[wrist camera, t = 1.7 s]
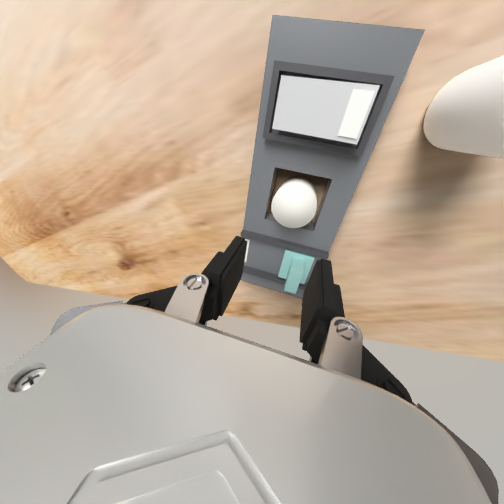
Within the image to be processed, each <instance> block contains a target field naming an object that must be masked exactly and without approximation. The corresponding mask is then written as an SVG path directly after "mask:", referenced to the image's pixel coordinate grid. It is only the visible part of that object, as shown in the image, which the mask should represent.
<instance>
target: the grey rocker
mask: <svg viewBox="0 0 504 504" xmlns="http://www.w3.org/2000/svg"><path fill="white" fill-rule="evenodd" d="M379 87H380V85H372V84H362V83H352V82H342V81H333V80H323V79H313V78H304V77H294V76H284V75H281V80H280V86H279V92H278V98H277V103H276V109H275V115H274V121H273V127H272V129H277V130H282V131H288V132H293V133H298V134H304V135H309V136H314V137H320V138H325V139H330V140H336V141H341V142H346V143H352V144H357V143H358V141H359V138H360V136H361V133H362V130H363V128H364V125H365V123H366V120H367V118H368V115H369V113H370V110H371V107H372V105H373V102H374V100H375V97H376V95H377V92H378V90H379Z"/></svg>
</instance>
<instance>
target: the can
mask: <svg viewBox="0 0 504 504" xmlns="http://www.w3.org/2000/svg"><path fill="white" fill-rule="evenodd" d="M424 133H425V136H426V138H427V140H428V141H429V142H430V143H431V144H432V145H433V146H435V147H437V148H440V149H444V150H450V151H456V152H462V153H469V154H475V155H482V156H489V157H495V158H502V159H504V55H503V56H500V57H498V58H495V59H493V60H491V61H488V62H486V63H483V64H481V65H478V66H476V67H473V68H471V69H469V70H467V71H465V72H463V73H461V74H459V75H458V76H456V77H455V78H453V79H452V80H451V81H449V82H448V83H447V84H446V85H445V86H444V87H443V88H442V89H441V90H440V91H439V92H438V93H437V94H436V96H435V97H434V98H433V100H432V101H431V103H430V105H429V107H428V109H427V111H426V114H425V118H424Z"/></svg>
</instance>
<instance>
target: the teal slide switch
mask: <svg viewBox="0 0 504 504" xmlns="http://www.w3.org/2000/svg"><path fill="white" fill-rule="evenodd" d="M314 259H315V256H313V255H309V254H306V253H302V252H298V251H294V250H291V249H287V248H286V250H285V253H284V257H283V260H282V264H281V267H280V270H279V274H278V277H280V278H284V279H286V282H285V287H284V291H287V292H291V293H294V294H296V291H297V289H298V286H299V283H301V284H305V281H306V279H307V276H308V274H309V271H310V269H311V266H312V264H313V261H314Z"/></svg>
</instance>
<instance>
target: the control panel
mask: <svg viewBox="0 0 504 504" xmlns="http://www.w3.org/2000/svg"><path fill="white" fill-rule="evenodd" d="M424 31H425V30H421V29H411V28H401V27H391V26H381V25H371V24H360V23H350V22H340V21H330V20H320V19H309V18H299V17H289V16H279V15H273V16H272V23H271V30H270V37H269V45H268V52H267V59H266V67H265V74H264V81H263V89H262V96H261V103H260V111H259V118H258V125H257V132H256V140H255V147H254V154H253V162H252V169H251V176H250V184H249V191H248V198H247V205H246V213H245V220H244V227H243V230H242V232H241V236H242V237H243V238H245V240H246V241H247V248H246V255H245V261H244V268H243V274H242V277H241V279H240V280H243V281H246V282H249V283H253V284H256V285H259V286H263V287H266V288H269V289H273V290H276V291H279V292H283V293H286V294H289V295H293V296H296V297H299V298H303V293H304V290H305V288H306V285H307V283H308V281H309V278H310V276H311V273H312V271H313V268H314V266H315V263H316V261H317V260H321V259H327V258H328V256H329V254H328V251H329V249H330V246H331V244H332V242H333V240H334V237H335V235H336V233H337V230H338V228H339V226H340V224H341V221H342V219H343V217H344V214H345V212H346V210H347V207H348V205H349V203H350V201H351V198H352V196H353V194H354V191H355V189H356V187H357V185H358V182H359V180H360V178H361V175H362V173H363V171H364V168H365V166H366V164H367V162H368V159H369V157H370V155H371V152H372V150H373V148H374V145H375V143H376V141H377V139H378V136H379V134H380V132H381V129H382V127H383V125H384V123H385V120H386V118H387V116H388V113H389V111H390V109H391V106H392V104H393V102H394V100H395V97H396V95H397V93H398V90H399V88H400V86H401V84H402V81H403V79H404V77H405V74H406V72H407V70H408V67H409V65H410V63H411V61H412V58H413V56H414V54H415V51H416V49H417V47H418V45H419V42H420V40H421V38H422V35H423V33H424ZM281 75H284V76H294V77H304V78H313V79H323V80H333V81H342V82H352V83H362V84H372V85H380V87H379V90H378V92H377V95H376V97H375V100H374V102H373V105H372V107H371V110H370V113H369V115H368V118H367V120H366V123H365V125H364V128H363V130H362V133H361V136H360V138H359V141H358V143H357V144H352V143H346V142H341V141H336V140H330V139H325V138H320V137H314V136H309V135H304V134H298V133H293V132H288V131H282V130H277V129H272V127H273V121H274V115H275V109H276V103H277V98H278V92H279V86H280V80H281ZM278 168H281V169H286V170H291V171H296V172H300V173H305V174H310V175H315V176H319V177H324V178H329V181H328V183H327V186H326V189H325V192H324V195H323V198H322V200H321V203H320V206H319V209H318V212H317V215H316V217H315V220H314V223H313V222H309V223H308V224H306V225H305V226H302V227H299V228H288V227H285V226H283V225H281V224H280V223H278V222H277V221H276V219H275V218H274V216H273V214H272V212H269V208H270V203H271V198H272V193H273V188H274V184H275V179H276V174H277V169H278ZM286 248H287V249H291V250H294V251H298V252H302V253H306V254H309V255H313V256H315V259H314V261H313V264H312V266H311V269H310V271H309V274H308V276H307V279H306V281H305V284H301V283H299V286H298V289H297V291H296V294H294V293H291V292H287V291H284V287H285V282H286V279H284V278H280V277H278V274H279V270H280V267H281V264H282V260H283V257H284V253H285V250H286Z"/></svg>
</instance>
